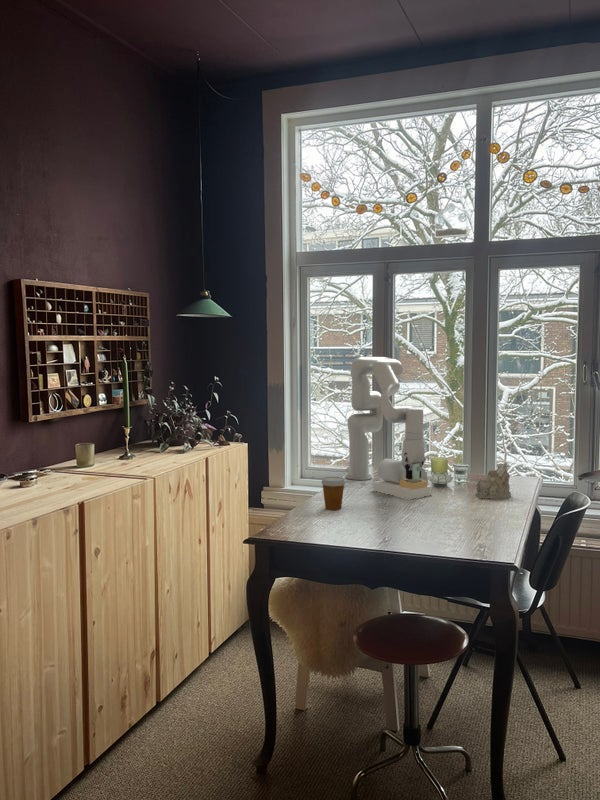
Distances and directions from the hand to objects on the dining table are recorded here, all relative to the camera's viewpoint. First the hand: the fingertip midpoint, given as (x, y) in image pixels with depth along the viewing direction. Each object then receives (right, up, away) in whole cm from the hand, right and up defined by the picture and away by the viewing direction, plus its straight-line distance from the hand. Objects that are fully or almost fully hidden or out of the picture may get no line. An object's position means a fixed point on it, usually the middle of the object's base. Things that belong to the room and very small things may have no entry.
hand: (413, 477), depth 287 cm
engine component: (+6, -6, +25) cm, 27 cm away
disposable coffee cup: (-36, -10, -22) cm, 43 cm away
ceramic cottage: (+35, -8, +2) cm, 36 cm away
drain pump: (+1, -3, -1) cm, 3 cm away
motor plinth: (-4, -7, +6) cm, 10 cm away
